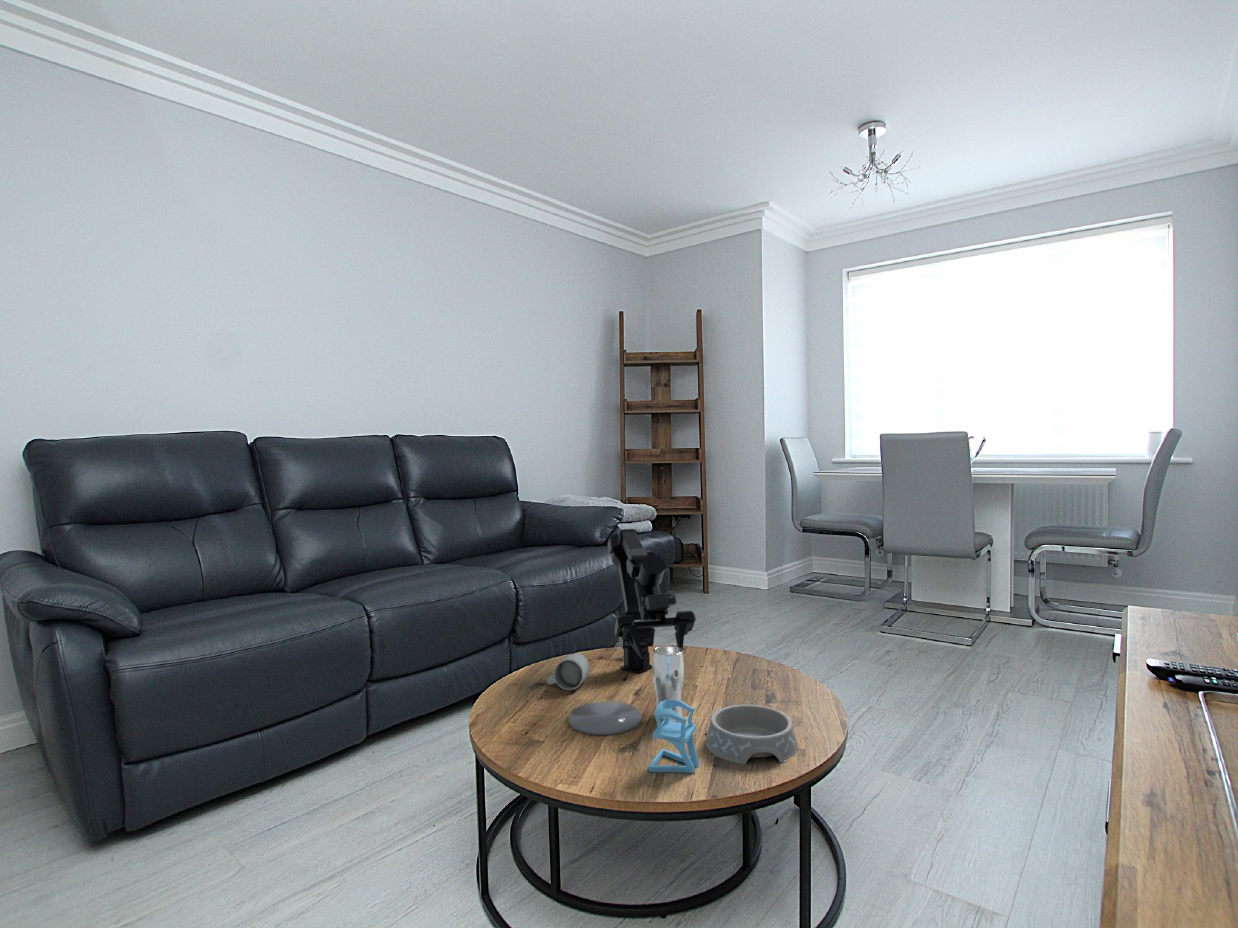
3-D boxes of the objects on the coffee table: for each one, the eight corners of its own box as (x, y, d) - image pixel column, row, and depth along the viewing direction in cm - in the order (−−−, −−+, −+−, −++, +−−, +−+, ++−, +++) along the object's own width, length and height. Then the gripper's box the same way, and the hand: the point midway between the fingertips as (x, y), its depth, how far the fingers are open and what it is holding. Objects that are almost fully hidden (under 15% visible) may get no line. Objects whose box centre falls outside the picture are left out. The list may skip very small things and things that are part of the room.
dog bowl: (810, 762, 130) (810, 734, 130) (715, 768, 129) (714, 740, 128) (783, 725, 147) (782, 700, 147) (698, 730, 146) (697, 705, 145)
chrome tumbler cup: (686, 723, 148) (684, 654, 148) (653, 723, 149) (652, 655, 148) (683, 710, 155) (682, 645, 155) (652, 711, 155) (651, 645, 155)
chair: (690, 779, 124) (690, 714, 124) (647, 771, 127) (646, 707, 127) (702, 760, 131) (701, 698, 131) (661, 753, 134) (660, 693, 134)
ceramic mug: (591, 679, 177) (590, 650, 177) (583, 691, 169) (582, 660, 169) (552, 678, 179) (551, 649, 179) (542, 689, 171) (541, 659, 171)
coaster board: (553, 721, 151) (553, 717, 151) (604, 700, 163) (604, 696, 163) (606, 742, 140) (606, 737, 140) (656, 717, 152) (656, 713, 152)
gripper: (615, 581, 160) (626, 641, 149) (692, 576, 163) (708, 635, 153) (610, 607, 168) (620, 666, 157) (683, 602, 171) (698, 659, 161)
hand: (661, 656), depth 157 cm, fingers open, 9 cm apart
